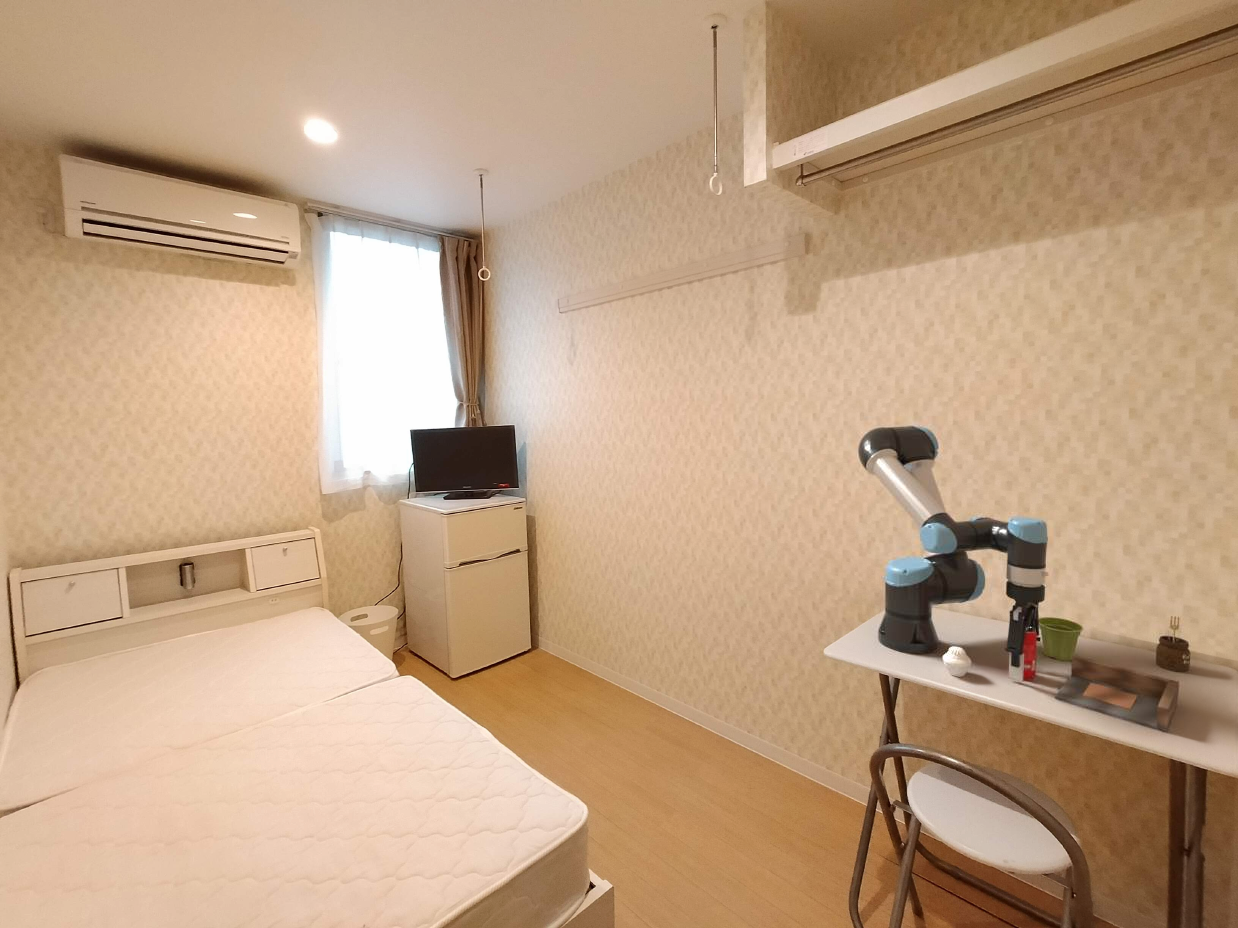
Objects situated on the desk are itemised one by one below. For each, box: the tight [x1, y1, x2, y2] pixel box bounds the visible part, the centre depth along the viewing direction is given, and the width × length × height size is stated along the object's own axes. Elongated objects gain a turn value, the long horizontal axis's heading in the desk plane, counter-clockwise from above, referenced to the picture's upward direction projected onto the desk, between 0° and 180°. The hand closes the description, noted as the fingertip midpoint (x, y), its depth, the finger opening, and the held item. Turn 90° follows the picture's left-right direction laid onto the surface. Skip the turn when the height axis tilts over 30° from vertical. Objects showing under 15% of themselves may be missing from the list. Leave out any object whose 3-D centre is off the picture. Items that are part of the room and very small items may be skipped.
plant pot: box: [1039, 616, 1084, 662], centre depth 144 cm, size 9×9×9 cm
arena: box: [1054, 654, 1180, 734], centre depth 122 cm, size 18×16×5 cm
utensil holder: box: [1155, 615, 1191, 673], centre depth 136 cm, size 6×6×12 cm
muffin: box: [942, 646, 972, 678], centre depth 137 cm, size 6×6×7 cm
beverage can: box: [1023, 627, 1038, 681], centre depth 134 cm, size 5×5×12 cm
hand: (1022, 671), depth 135 cm, fingers open, 9 cm apart
